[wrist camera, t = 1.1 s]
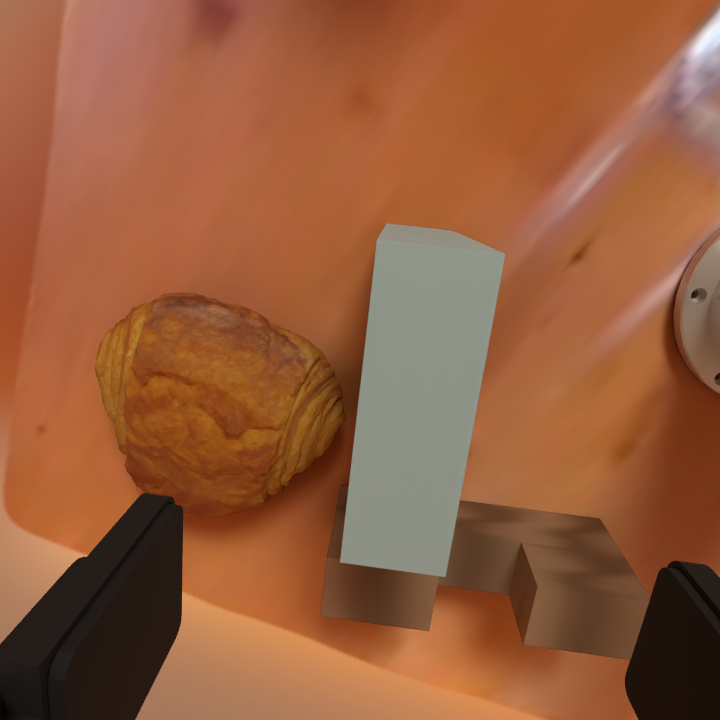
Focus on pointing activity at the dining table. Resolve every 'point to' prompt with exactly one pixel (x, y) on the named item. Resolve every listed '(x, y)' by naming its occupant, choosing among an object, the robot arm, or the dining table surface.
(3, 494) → the dining table surface
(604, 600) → the mottled brown block
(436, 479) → the plain rectangular block
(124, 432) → the croissant
